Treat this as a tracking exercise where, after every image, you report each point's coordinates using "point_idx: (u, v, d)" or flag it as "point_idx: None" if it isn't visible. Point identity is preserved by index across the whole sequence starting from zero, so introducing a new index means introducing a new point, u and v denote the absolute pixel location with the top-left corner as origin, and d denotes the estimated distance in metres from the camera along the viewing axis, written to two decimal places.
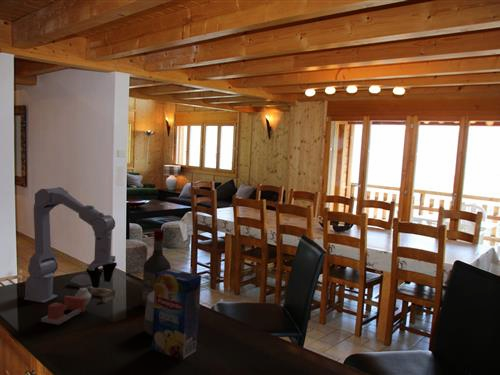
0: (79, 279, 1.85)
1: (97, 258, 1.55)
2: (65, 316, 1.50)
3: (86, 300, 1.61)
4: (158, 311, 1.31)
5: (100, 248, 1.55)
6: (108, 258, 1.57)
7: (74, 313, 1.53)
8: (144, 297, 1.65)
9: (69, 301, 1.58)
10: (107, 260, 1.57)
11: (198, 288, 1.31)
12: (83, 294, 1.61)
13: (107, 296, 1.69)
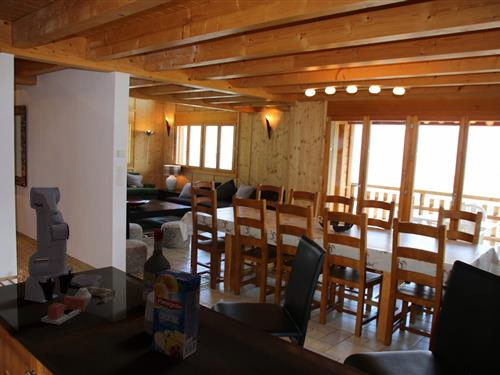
0: (80, 278, 1.85)
1: (50, 268, 1.45)
2: (65, 316, 1.50)
3: (86, 300, 1.61)
4: (158, 311, 1.31)
5: (49, 257, 1.45)
6: (63, 269, 1.46)
7: (74, 313, 1.53)
8: (144, 297, 1.65)
9: (69, 301, 1.58)
10: (61, 271, 1.46)
11: (198, 288, 1.31)
12: (83, 294, 1.61)
13: (107, 296, 1.69)
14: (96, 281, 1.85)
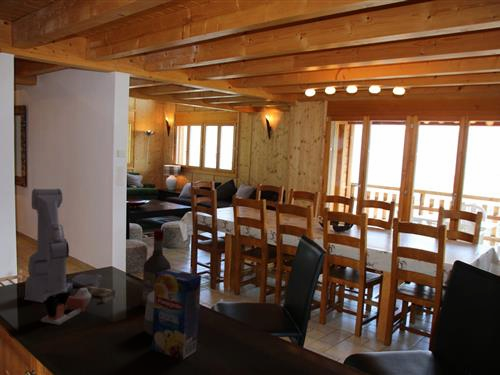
0: (81, 278, 1.86)
1: (50, 286, 1.45)
2: (65, 316, 1.50)
3: (86, 300, 1.61)
4: (158, 311, 1.31)
5: (49, 275, 1.45)
6: (62, 286, 1.47)
7: (74, 313, 1.53)
8: (144, 297, 1.65)
9: (69, 301, 1.58)
10: (61, 289, 1.46)
11: (198, 288, 1.31)
12: (83, 294, 1.61)
13: (107, 296, 1.69)
14: (97, 281, 1.86)
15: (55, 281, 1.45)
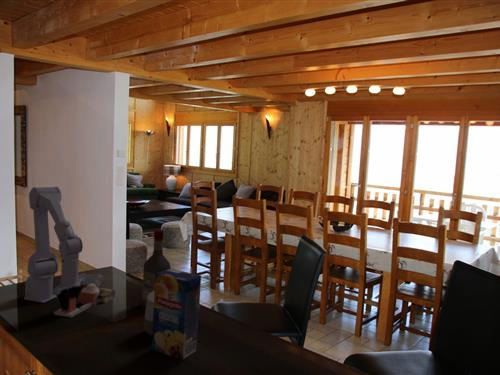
0: None
1: (63, 281, 1.52)
2: (77, 309, 1.56)
3: None
4: (158, 311, 1.31)
5: (64, 270, 1.52)
6: (75, 281, 1.53)
7: (85, 307, 1.60)
8: (144, 297, 1.65)
9: (80, 295, 1.65)
10: (74, 283, 1.53)
11: (198, 288, 1.31)
12: (92, 289, 1.67)
13: (107, 296, 1.69)
14: (97, 280, 1.86)
15: (68, 276, 1.52)
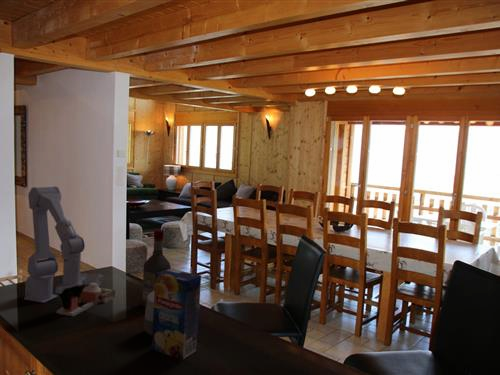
0: None
1: (65, 280, 1.53)
2: (79, 308, 1.57)
3: None
4: (158, 311, 1.31)
5: (66, 270, 1.53)
6: (77, 280, 1.54)
7: (87, 306, 1.61)
8: (144, 297, 1.65)
9: (82, 294, 1.66)
10: (76, 282, 1.54)
11: (198, 288, 1.31)
12: (94, 288, 1.68)
13: (107, 296, 1.69)
14: (98, 280, 1.87)
15: (70, 275, 1.53)
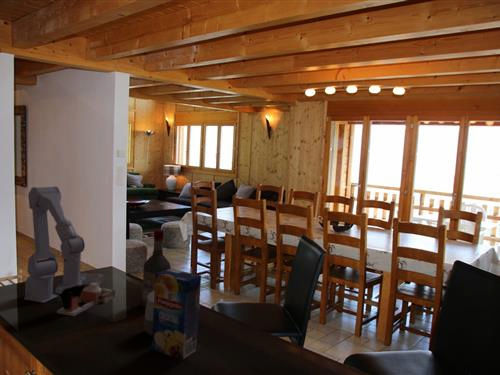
0: None
1: (65, 280, 1.53)
2: (79, 308, 1.58)
3: None
4: (158, 311, 1.31)
5: (66, 270, 1.53)
6: (77, 280, 1.54)
7: (88, 305, 1.61)
8: (144, 297, 1.65)
9: (82, 294, 1.66)
10: (76, 282, 1.54)
11: (198, 288, 1.31)
12: (94, 288, 1.68)
13: (107, 296, 1.69)
14: (98, 280, 1.87)
15: (70, 275, 1.53)
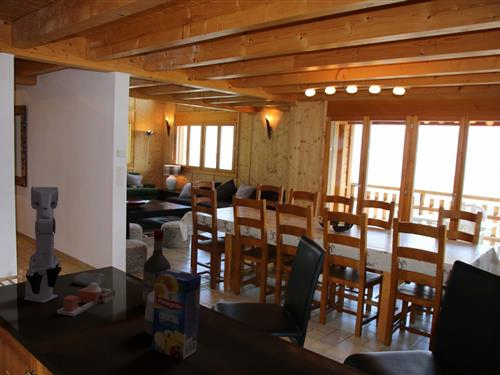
0: (83, 277, 1.88)
1: (37, 262, 1.47)
2: (79, 308, 1.58)
3: None
4: (158, 311, 1.31)
5: (36, 251, 1.47)
6: (50, 262, 1.48)
7: (88, 305, 1.61)
8: (144, 297, 1.65)
9: (82, 294, 1.66)
10: (49, 265, 1.48)
11: (198, 288, 1.31)
12: (94, 288, 1.68)
13: (107, 296, 1.69)
14: (99, 279, 1.88)
15: (43, 257, 1.47)
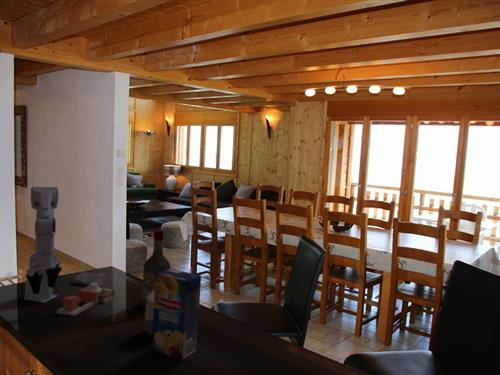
0: (83, 276, 1.88)
1: (37, 262, 1.47)
2: (79, 308, 1.58)
3: None
4: (158, 311, 1.31)
5: (36, 251, 1.47)
6: (50, 262, 1.48)
7: (88, 305, 1.61)
8: (144, 297, 1.65)
9: (82, 294, 1.66)
10: (49, 265, 1.48)
11: (198, 288, 1.31)
12: (94, 288, 1.68)
13: (107, 296, 1.69)
14: (99, 279, 1.88)
15: (43, 257, 1.47)
